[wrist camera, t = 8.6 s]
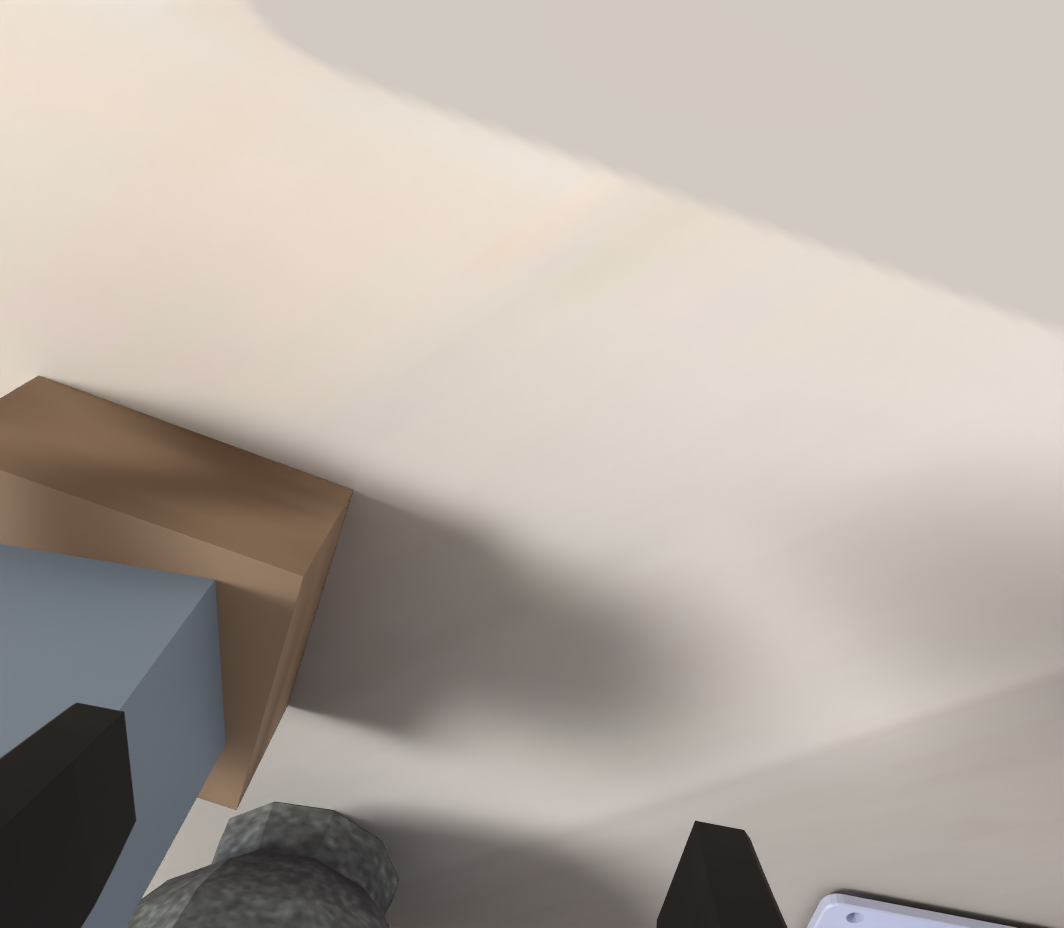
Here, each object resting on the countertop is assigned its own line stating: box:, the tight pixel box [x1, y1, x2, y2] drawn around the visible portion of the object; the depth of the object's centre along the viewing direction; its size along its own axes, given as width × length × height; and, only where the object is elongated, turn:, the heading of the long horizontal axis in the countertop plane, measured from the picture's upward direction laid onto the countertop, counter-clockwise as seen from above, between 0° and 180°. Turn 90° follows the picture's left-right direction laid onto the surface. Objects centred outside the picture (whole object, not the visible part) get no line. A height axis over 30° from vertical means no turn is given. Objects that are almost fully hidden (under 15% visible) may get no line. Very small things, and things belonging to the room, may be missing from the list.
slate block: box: [0, 544, 226, 928], centre depth 16 cm, size 5×5×6 cm
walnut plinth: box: [0, 376, 353, 810], centre depth 21 cm, size 8×8×4 cm
